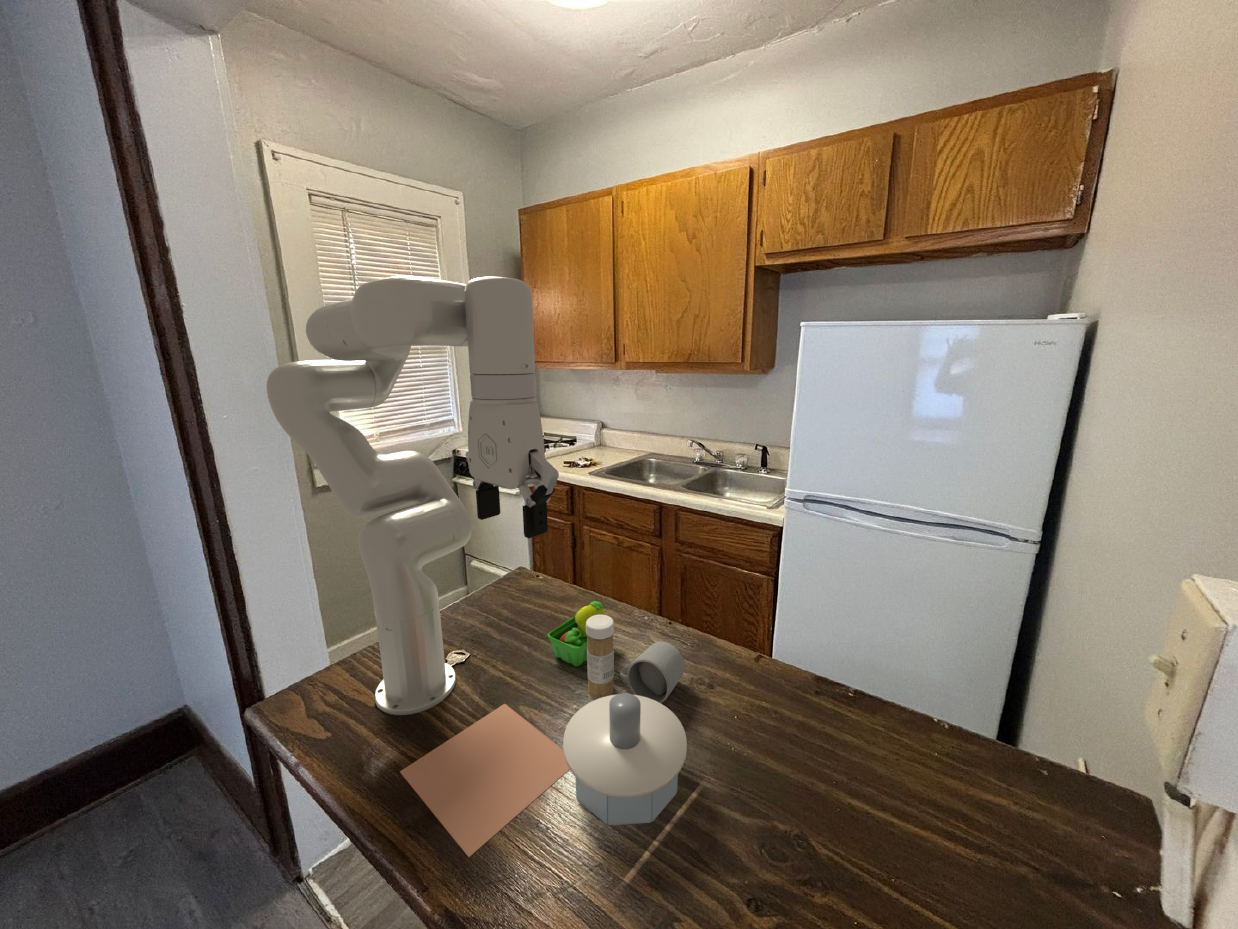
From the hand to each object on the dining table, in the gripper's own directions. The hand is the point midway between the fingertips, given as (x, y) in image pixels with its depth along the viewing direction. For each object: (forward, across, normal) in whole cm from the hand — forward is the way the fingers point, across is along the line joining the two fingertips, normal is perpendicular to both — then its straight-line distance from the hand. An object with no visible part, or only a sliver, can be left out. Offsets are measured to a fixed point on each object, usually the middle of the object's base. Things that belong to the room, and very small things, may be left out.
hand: (511, 525), depth 60 cm
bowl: (+34, +14, +6) cm, 38 cm away
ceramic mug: (+35, +5, +22) cm, 42 cm away
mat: (+34, -1, -5) cm, 35 cm away
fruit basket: (+35, -10, +22) cm, 42 cm away
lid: (+28, +14, +6) cm, 32 cm away
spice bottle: (+34, 0, +16) cm, 38 cm away
